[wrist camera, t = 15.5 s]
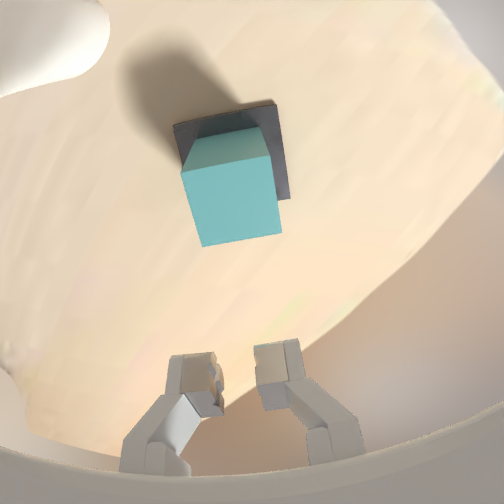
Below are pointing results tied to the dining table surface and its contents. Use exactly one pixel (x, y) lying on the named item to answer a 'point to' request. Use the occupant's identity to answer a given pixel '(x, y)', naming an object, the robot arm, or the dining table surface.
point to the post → (233, 122)
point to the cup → (49, 41)
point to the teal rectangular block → (231, 187)
